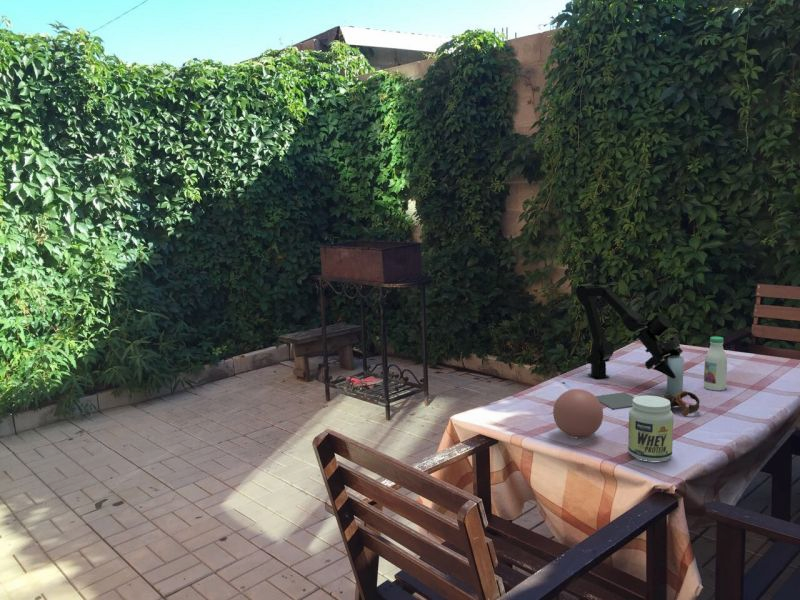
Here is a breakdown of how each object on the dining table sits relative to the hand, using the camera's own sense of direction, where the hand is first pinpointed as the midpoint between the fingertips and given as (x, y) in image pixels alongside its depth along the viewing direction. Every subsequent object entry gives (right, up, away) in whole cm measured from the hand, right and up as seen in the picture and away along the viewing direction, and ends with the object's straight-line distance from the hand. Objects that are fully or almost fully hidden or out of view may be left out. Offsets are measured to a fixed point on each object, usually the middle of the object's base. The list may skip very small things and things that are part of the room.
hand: (678, 376), depth 240 cm
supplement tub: (-31, -18, -51) cm, 62 cm away
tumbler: (-1, -7, +2) cm, 7 cm away
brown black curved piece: (-7, -11, -16) cm, 21 cm away
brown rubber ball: (-46, -15, -32) cm, 58 cm away
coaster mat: (-24, -9, -4) cm, 26 cm away
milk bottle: (+17, -6, +7) cm, 19 cm away
